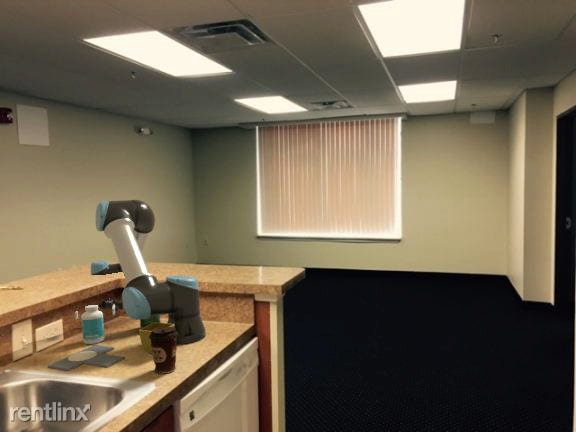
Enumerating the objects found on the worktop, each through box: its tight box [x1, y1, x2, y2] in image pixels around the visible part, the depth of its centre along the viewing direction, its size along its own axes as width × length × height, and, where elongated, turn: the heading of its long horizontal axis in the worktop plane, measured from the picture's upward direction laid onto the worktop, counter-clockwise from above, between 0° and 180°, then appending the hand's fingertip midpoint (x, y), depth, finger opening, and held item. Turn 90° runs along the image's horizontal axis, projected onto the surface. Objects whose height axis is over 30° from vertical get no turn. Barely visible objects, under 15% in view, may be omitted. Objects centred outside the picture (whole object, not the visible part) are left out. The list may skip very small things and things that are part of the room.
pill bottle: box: [80, 305, 105, 345], centre depth 173 cm, size 8×7×14 cm
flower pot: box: [138, 322, 174, 355], centre depth 160 cm, size 9×9×9 cm
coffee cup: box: [149, 327, 178, 374], centre depth 144 cm, size 9×8×13 cm
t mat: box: [47, 344, 126, 372], centre depth 156 cm, size 19×20×1 cm
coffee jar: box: [139, 315, 162, 329], centre depth 186 cm, size 10×8×19 cm
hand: (94, 313), depth 183 cm, fingers open, 13 cm apart
